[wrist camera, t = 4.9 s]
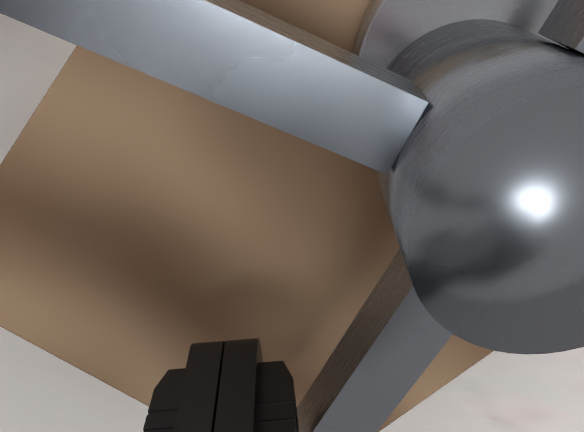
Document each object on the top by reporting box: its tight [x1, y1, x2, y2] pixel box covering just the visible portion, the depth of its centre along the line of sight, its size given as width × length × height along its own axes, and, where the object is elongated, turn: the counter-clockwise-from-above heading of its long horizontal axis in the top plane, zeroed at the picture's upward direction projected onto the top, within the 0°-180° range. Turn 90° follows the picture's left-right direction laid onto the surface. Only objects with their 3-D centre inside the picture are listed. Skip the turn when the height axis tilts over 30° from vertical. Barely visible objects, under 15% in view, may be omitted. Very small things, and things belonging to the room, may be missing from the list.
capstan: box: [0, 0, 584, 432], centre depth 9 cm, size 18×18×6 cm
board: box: [0, 0, 494, 432], centre depth 14 cm, size 20×14×2 cm
